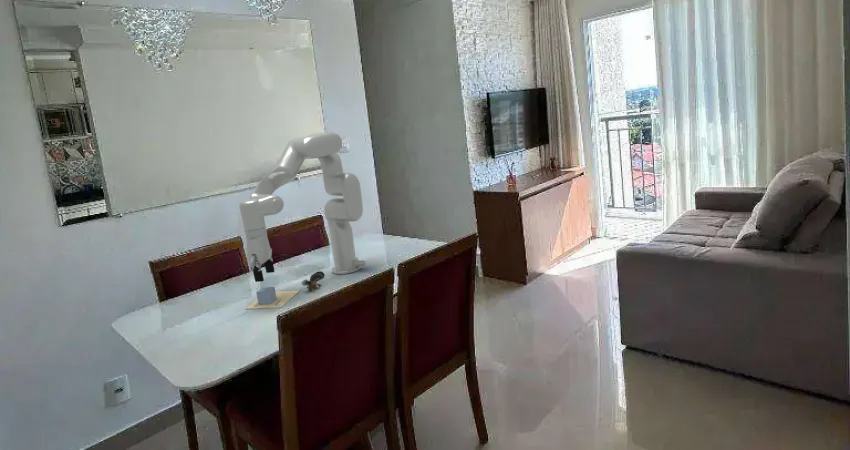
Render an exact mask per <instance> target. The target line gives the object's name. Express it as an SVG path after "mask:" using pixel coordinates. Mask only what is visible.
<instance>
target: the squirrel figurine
mask: <svg viewBox="0 0 850 450" xmlns="http://www.w3.org/2000/svg"><path fill="white" fill-rule="evenodd" d="M323 279H325V273H324V271H315V272H314V273H313V274H311V275H310V278H309V280H308V279H304V280H302V281H301V284H302V287H303V286H306V287H305V288H306V289H309V290H308V292H309V293H312V292H311V291H312V290H313V288H317V289H318V290H320V289H321V288H320V286H321V284H320V283H318V282H319V281H320V282H321V280H323Z"/></svg>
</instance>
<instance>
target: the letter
mask: <svg viewBox="0 0 850 450" xmlns="http://www.w3.org/2000/svg"><path fill="white" fill-rule="evenodd" d="M275 292H276V298H277V300H275V301H274V302H273V303H272V304H262V305H258V299H257V298H256V299H255V301H253V302H252V303H251V304H249V305H248V306H247V307H246V308H245V310H258V309H280V308H283V307H284V306H285V305H286V304H287V303H288V302H290V301H291V300H292V298H293V297H295V296H296V295H297V294H298V293H299V292H300V290H298V289H297V290H283V291H281V290H280V291H278V290H277V291H275Z"/></svg>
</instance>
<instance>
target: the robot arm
mask: <svg viewBox="0 0 850 450" xmlns="http://www.w3.org/2000/svg"><path fill="white" fill-rule="evenodd" d="M342 147H343V140H342V137H341V136H340V135H339V134H338V133H336V132H333V131H332V132H330V131H329V132H317V133H311V134H308V135H307V136H302V137H300V136H299V137H294V138H292V139H290V140H289V141H288V142H287V144H286V147H285V148H284V150H283V152H282V153H281V155H280V158H279V159H278V161H277V162H276V165H275V166H274V168H272V170H270V171H269V172H268V173H267V174H266V175H264V177H263V178H262V179H260V180H259V181H258V183H257V185H256V186H255V188H254V189H253V191H252V193H251V195H250V197H249V199H245V200H242V201H240V202H239V210H240V216H241V220H242V223H243V224H242V225H243V230H244V233H245V238H246V251H247V258H248V265H249V267H250V270H251V272H252V273H253V278H254V281H255V283H258V282H261V283H262V282H264V274H263V270H262V265H264V268H265V273H267V274H270V273H275V267H274V262H273V261H274V259H273V248H271V245H270V242H269V238H268V232H267V227H266V221H265V217H267V216H275V215H278V214H279V213H281V212H282V211H283V209H284V207H285V203H284V200H283V198H282V197H280V196H279V195H277V194H273V193H274V192H275V191H277V189H280V188H281V187H282V186H285V185H287V184H289V183H290V182H292V181H294V180H295V179H296V177H297V175H298V173H299V171H300V170H301V167H302V165H303V164H304V162H305V160H308V159H309V160H310V159H311V160H313V159H317V160H318V161H319V162H320V165H321V171H322V179H323V180H322V181H323V185H324V186H323V187H324V190H325V193H327V194H328V195H330V196H334V197H335V196H336V198H332V199H329V200H328V201H326V203H325V205H324V207H323V208H324V210H323V212H324V216H325V219H326V222H327V225H328V228H329V236H330V237H329V238H330V243H331V249H332V256H333V264H334V267H332V268H331V273H332V274H335V275H346V274H352V273H355V272H357V271H359V270H361V267H363V266H366V265H367V262H366V261H365V260H364V259H362V260H359V258H358V257H357V256H356V249H355V240H354V236H353V235H354V233H353V228H352V226H351V222H357V221H360V219H361V217H362V216H363V213H364V205H363V197H362V190H361V184H360V180H359V178H358V176H357V175H355V174H353V173H350V172H344V168H343V164H342V159H341V157H340V155H339V153H338V152H340V150H341V149H342ZM338 196H339V197H340V196H341V197H343V198H339V197H338ZM337 197H338V198H337Z"/></svg>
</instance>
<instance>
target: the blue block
mask: <svg viewBox="0 0 850 450" xmlns="http://www.w3.org/2000/svg"><path fill="white" fill-rule="evenodd" d="M276 292H277V291H276V288H275V286H264V287H263V286H262V287H261V288H259V289H258V290H257V291H256V292H255V293H256V300H257V299H258V305H262V304H272V303H273V302H274V301H275V300H277V298H276Z"/></svg>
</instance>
